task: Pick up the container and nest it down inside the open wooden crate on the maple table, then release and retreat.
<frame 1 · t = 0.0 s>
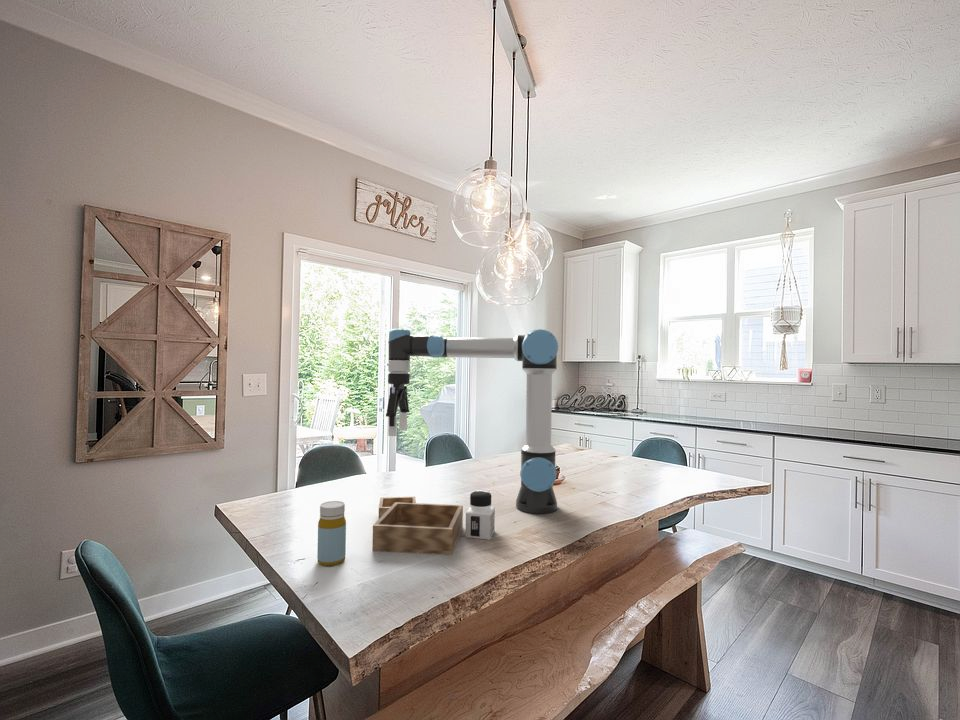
hand: (397, 433, 163), 28 cm above the table, fingers open, 13 cm apart
container: (480, 535, 143), on the table
small crate: (397, 519, 156), on the table
crate: (420, 537, 140), on the table
bottle: (331, 562, 122), on the table
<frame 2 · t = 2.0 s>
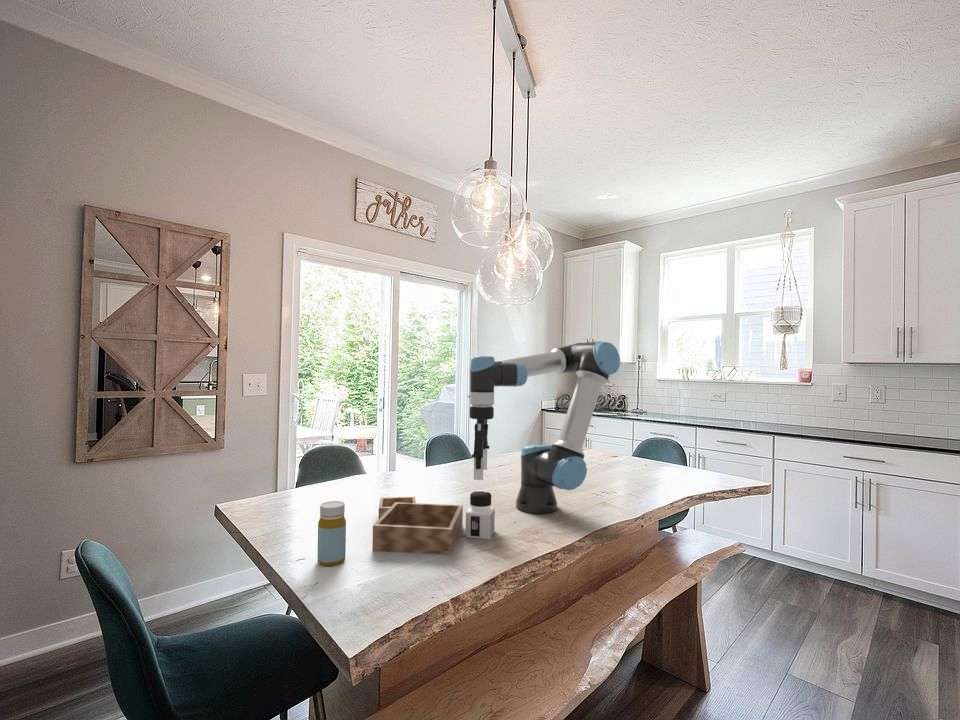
hand: (480, 474, 144), 18 cm above the table, fingers open, 13 cm apart
nothing on the table moved.
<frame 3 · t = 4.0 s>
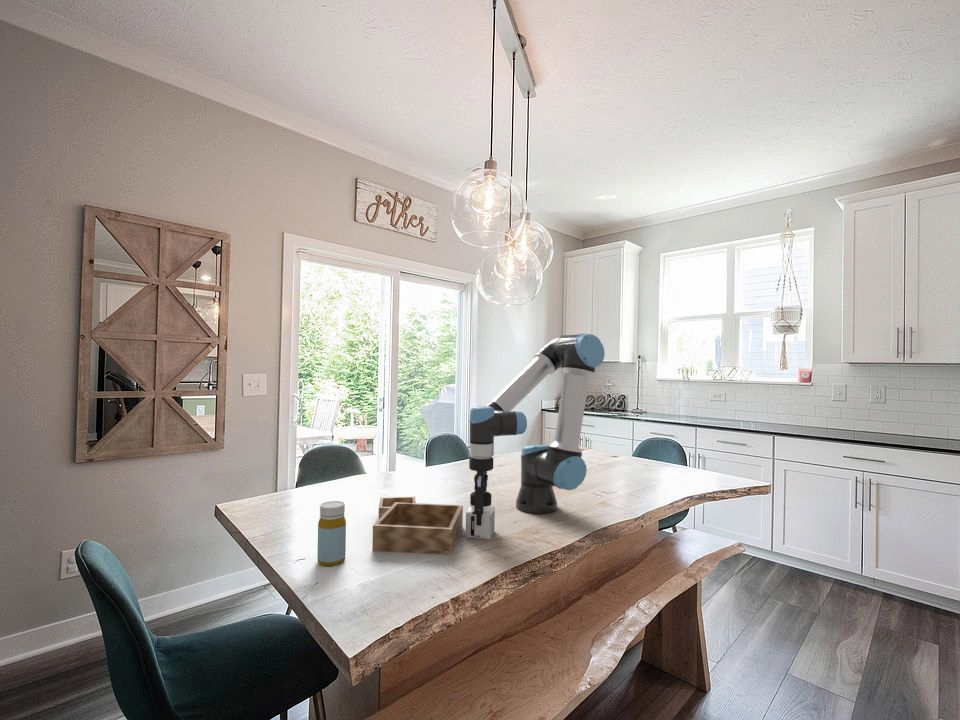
hand: (480, 530, 143), 1 cm above the table, fingers closed on container, 8 cm apart
container: (480, 535, 143), on the table, touching gripper
everything else where it was.
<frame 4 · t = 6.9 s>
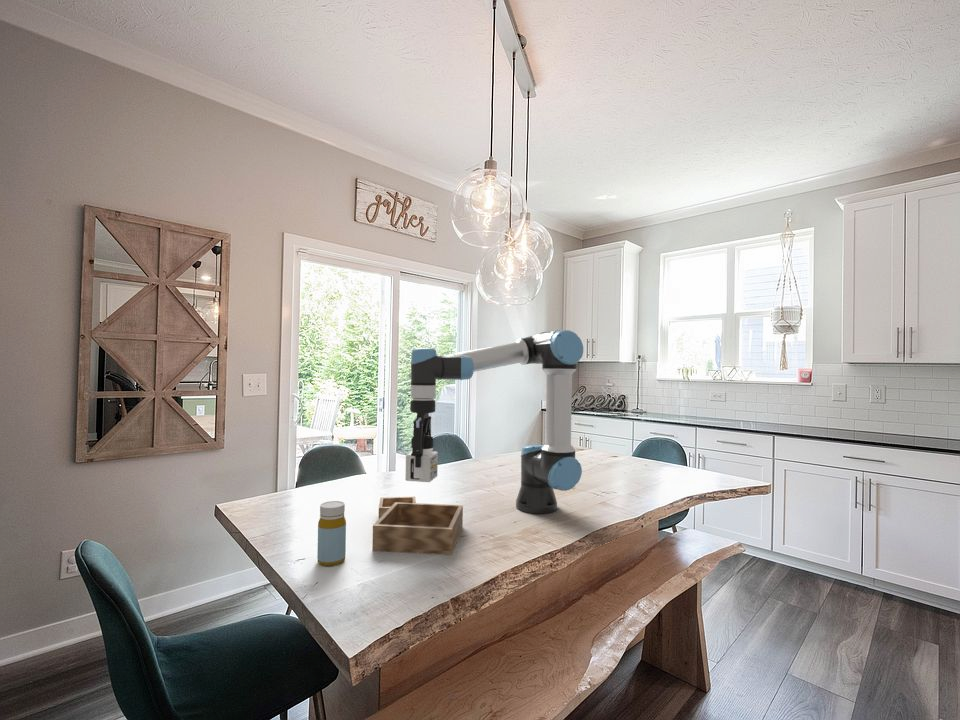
hand: (421, 474, 140), 19 cm above the table, fingers closed on container, 8 cm apart
container: (421, 479, 140), point 18 cm above the table, touching gripper
everything else where it was.
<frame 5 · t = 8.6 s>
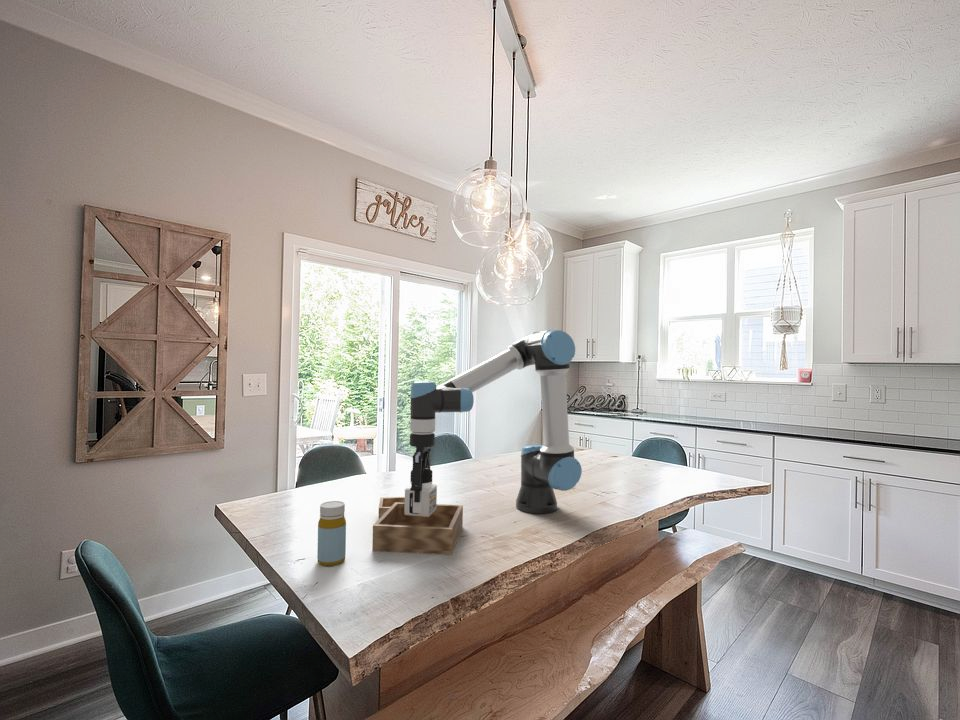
hand: (420, 508, 140), 9 cm above the table, fingers closed on container, 8 cm apart
container: (420, 513, 140), point 8 cm above the table, touching gripper
everything else where it was.
when the fingers open (4 cm above the table, at t = 10.0 s): container drops 2 cm, resting on crate.
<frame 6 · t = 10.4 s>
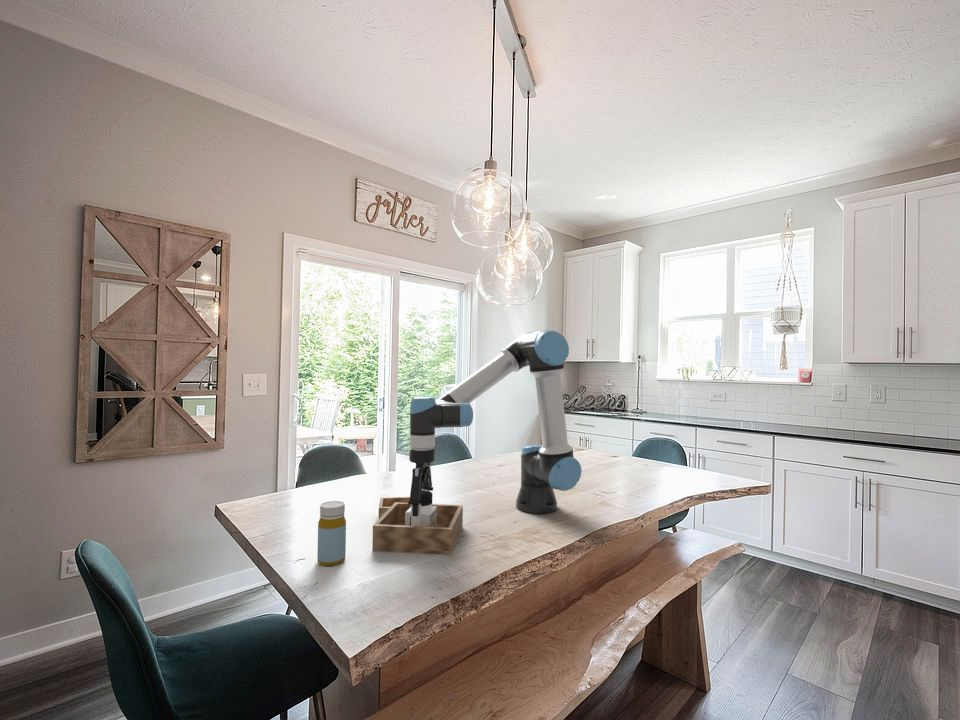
hand: (421, 519, 140), 6 cm above the table, fingers open, 13 cm apart
container: (420, 535, 140), point 1 cm above the table, touching crate
everything else where it was.
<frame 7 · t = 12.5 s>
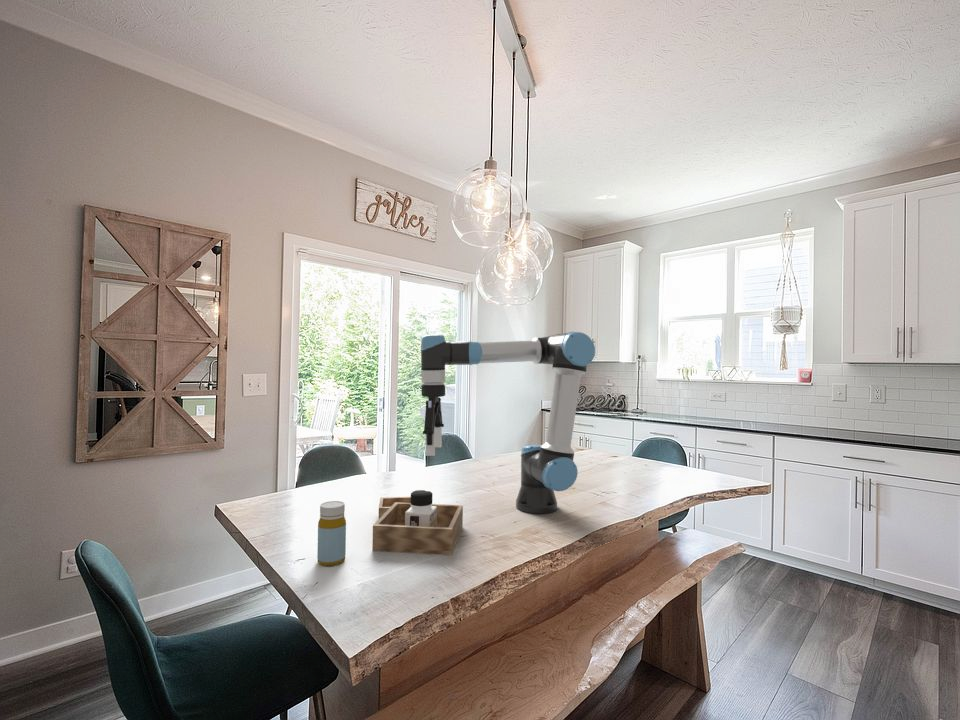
hand: (434, 451, 146), 25 cm above the table, fingers open, 13 cm apart
nothing on the table moved.
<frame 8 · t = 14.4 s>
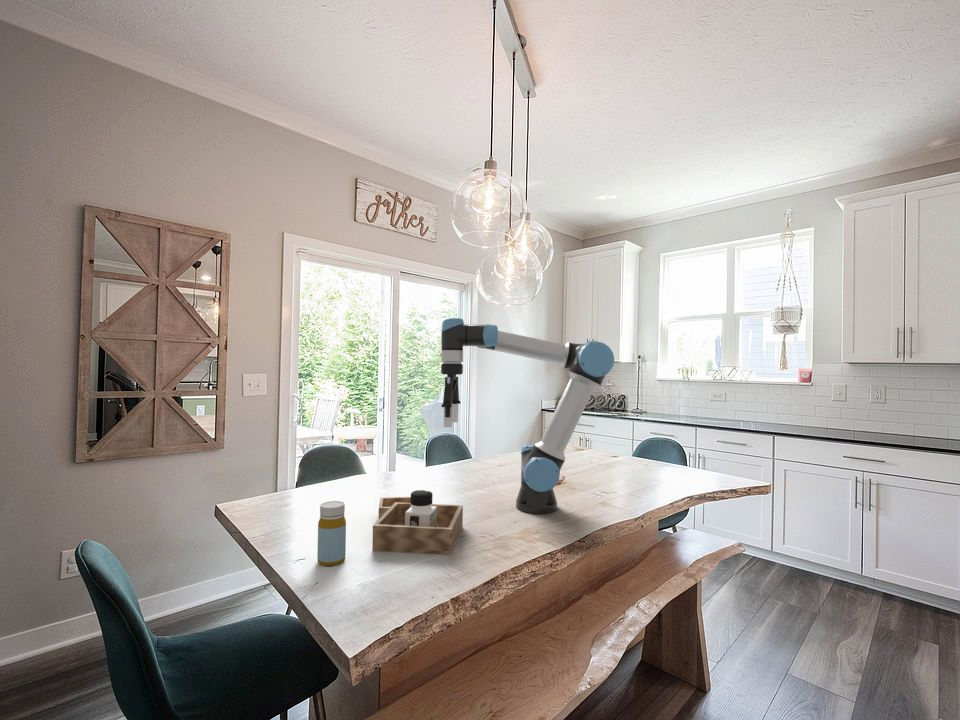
hand: (451, 424, 160), 32 cm above the table, fingers open, 13 cm apart
nothing on the table moved.
at the end: container inside the target area on the crate (0.1 cm from its centre), point 0.8 cm above the crate's base; container tilted 0°; the gripper is holding nothing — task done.
